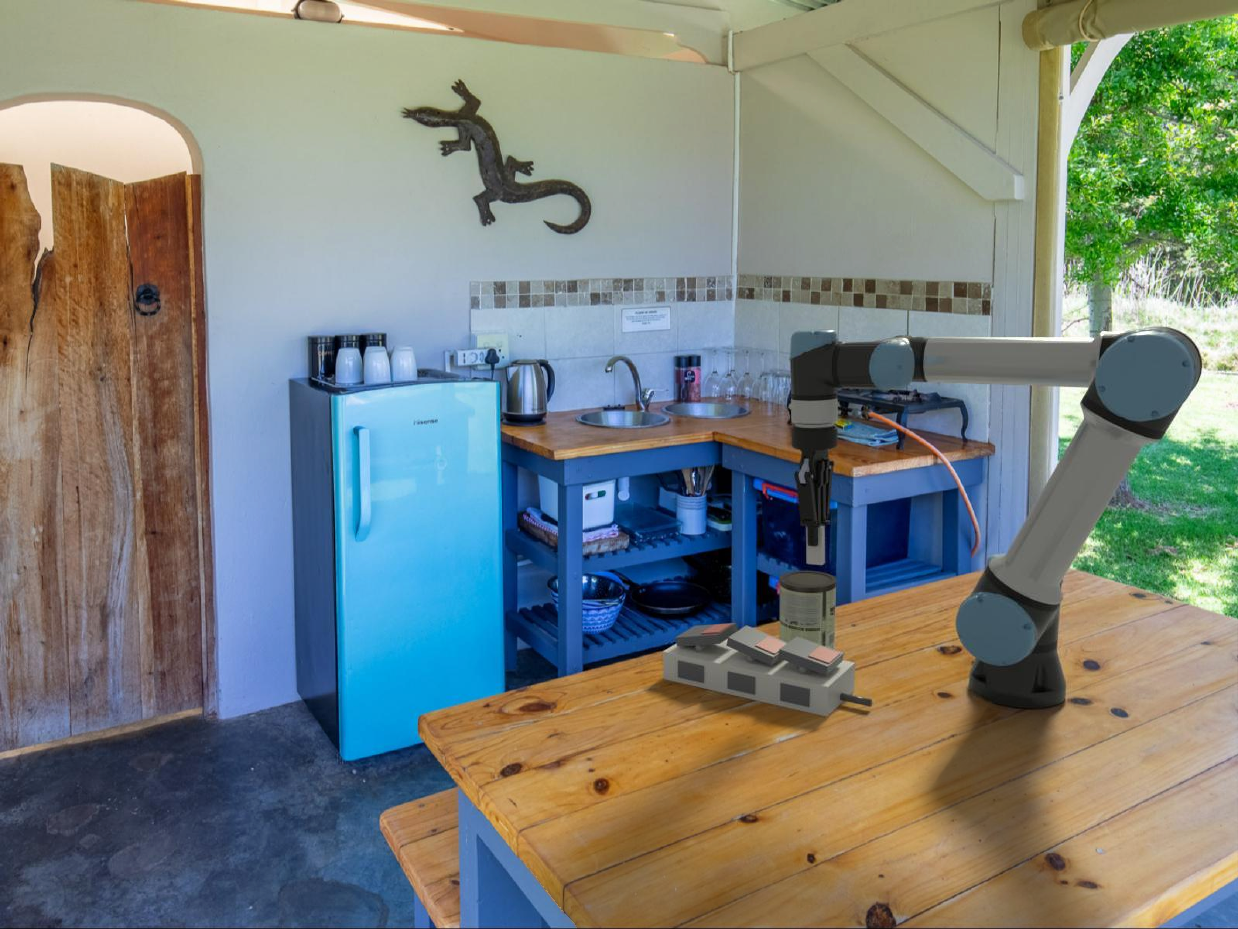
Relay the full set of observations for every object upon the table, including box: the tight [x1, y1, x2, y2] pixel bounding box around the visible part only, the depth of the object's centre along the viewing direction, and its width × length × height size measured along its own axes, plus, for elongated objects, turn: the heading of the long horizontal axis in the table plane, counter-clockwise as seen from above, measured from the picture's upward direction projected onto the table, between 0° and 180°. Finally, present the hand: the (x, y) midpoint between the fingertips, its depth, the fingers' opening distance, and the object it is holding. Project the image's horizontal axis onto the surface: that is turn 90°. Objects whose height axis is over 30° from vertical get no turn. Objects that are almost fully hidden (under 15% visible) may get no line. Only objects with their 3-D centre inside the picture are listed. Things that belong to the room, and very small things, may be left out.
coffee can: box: [778, 570, 838, 650], centre depth 193 cm, size 10×10×14 cm
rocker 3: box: [778, 636, 845, 675], centre depth 173 cm, size 8×7×2 cm
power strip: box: [662, 639, 873, 717], centre depth 178 cm, size 35×12×6 cm, turn 57°
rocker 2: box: [726, 625, 787, 666], centre depth 178 cm, size 8×7×2 cm
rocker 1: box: [674, 622, 739, 647], centre depth 183 cm, size 8×7×2 cm
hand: (815, 563), depth 177 cm, fingers closed
